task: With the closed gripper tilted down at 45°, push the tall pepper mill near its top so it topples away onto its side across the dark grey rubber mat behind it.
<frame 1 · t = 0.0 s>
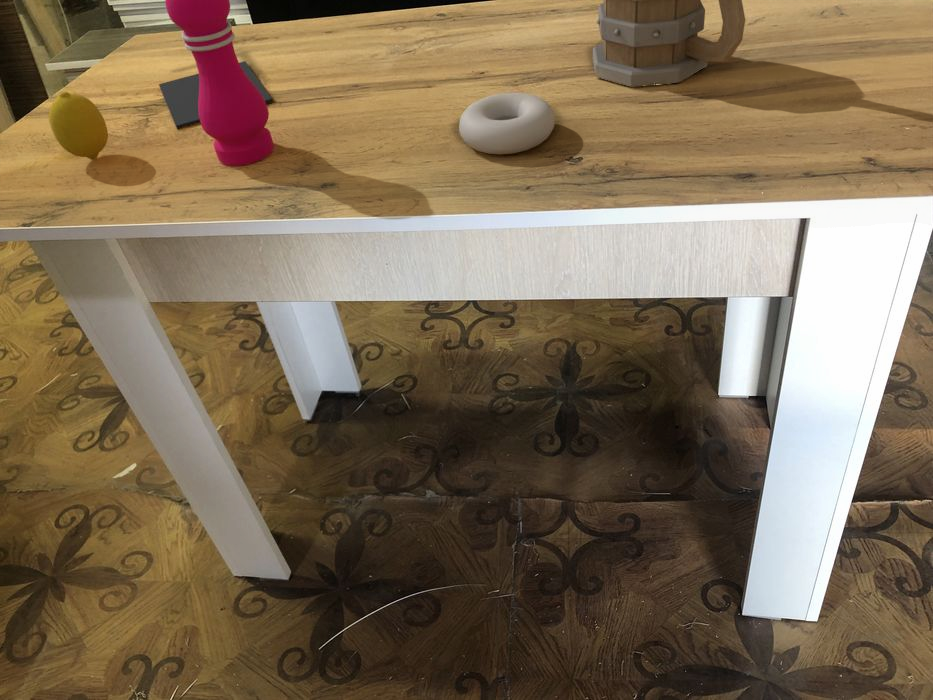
donut: (508, 139, 81), on the table
pepper mill: (247, 154, 86), on the table
mat: (214, 94, 100), on the table
tankard: (673, 73, 89), on the table
lemon: (95, 160, 90), on the table
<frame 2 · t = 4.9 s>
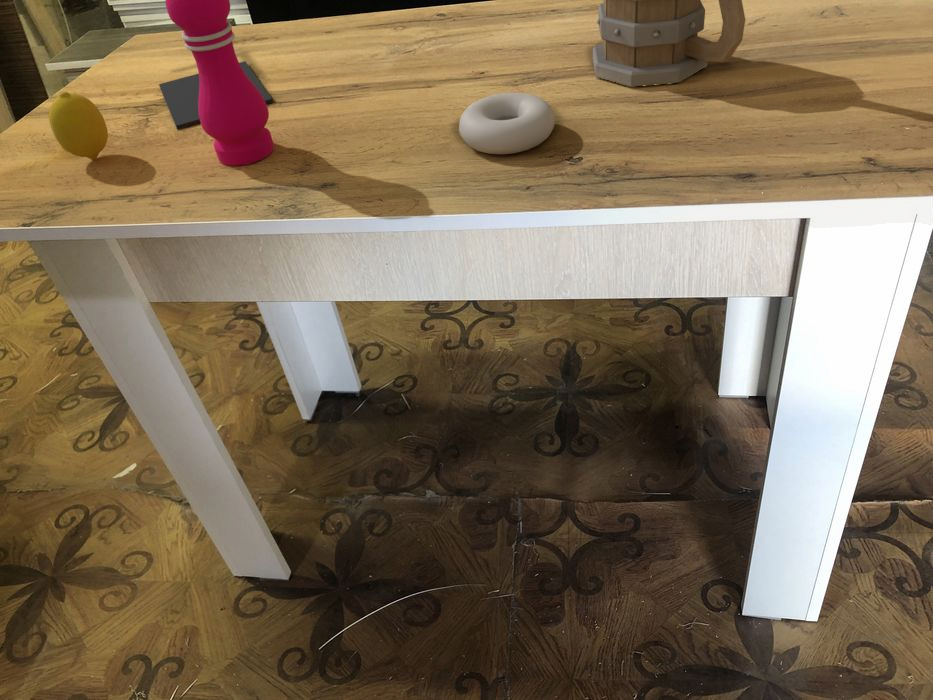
nothing on the table moved.
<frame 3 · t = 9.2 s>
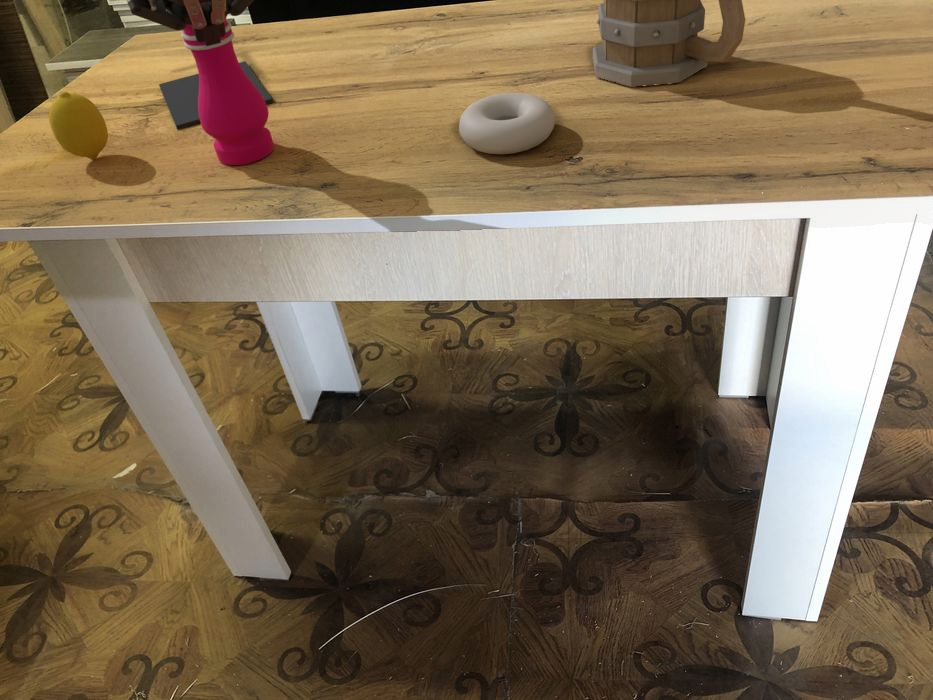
hand: (209, 36, 75), 14 cm above the table, tool tilted 45°, fingers closed
pepper mill: (247, 154, 86), on the table, touching gripper
everything else where it was.
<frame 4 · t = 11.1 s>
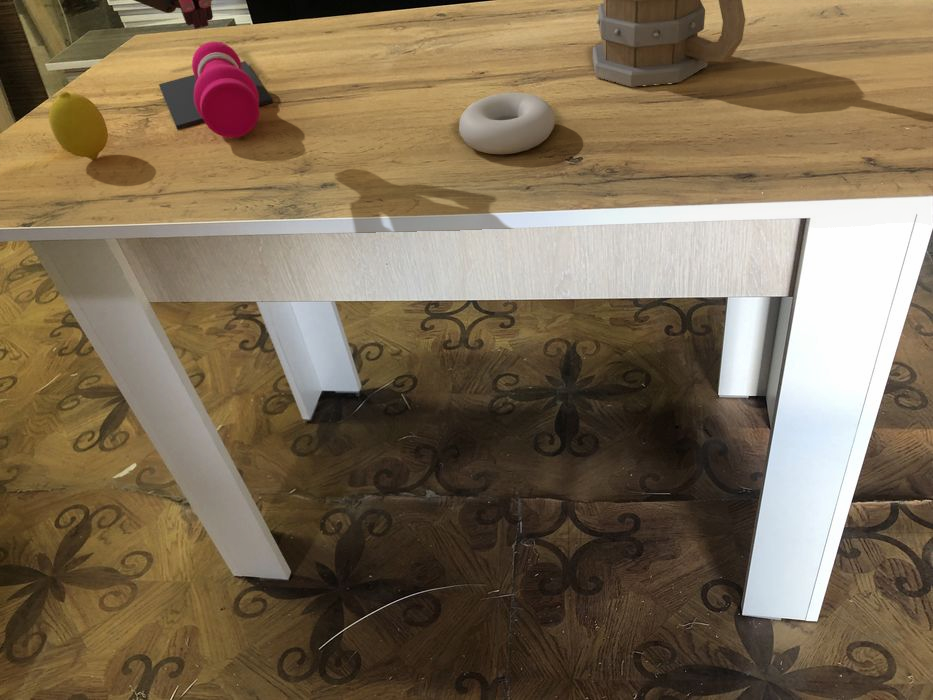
hand: (198, 19, 81), 13 cm above the table, tool tilted 45°, fingers closed
pepper mill: (230, 111, 86), point 4 cm above the table, touching mat
everything else where it was.
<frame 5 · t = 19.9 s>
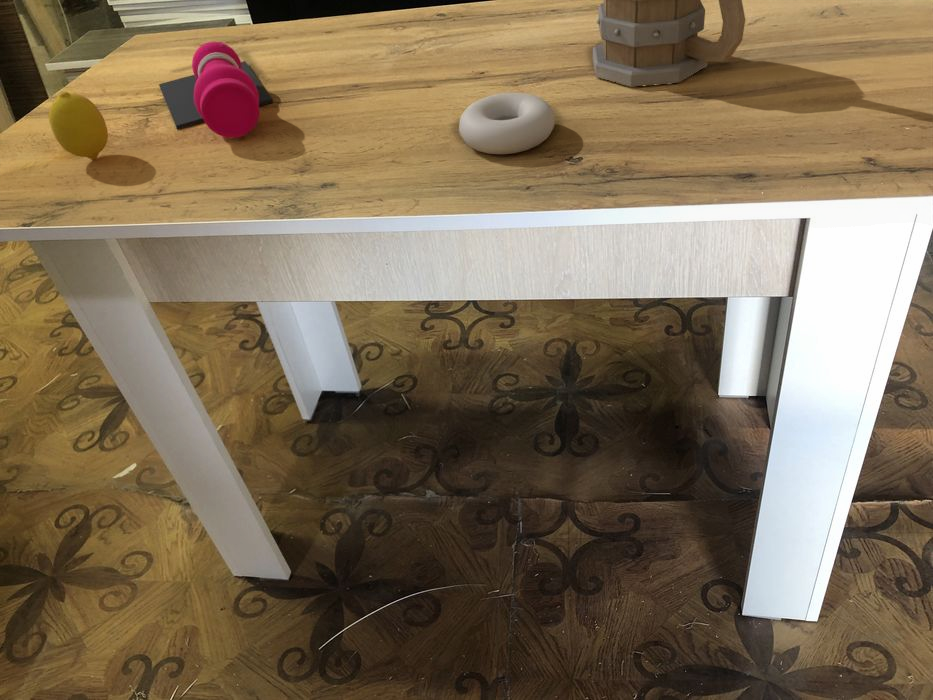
nothing on the table moved.
at the end: pepper mill tilted 91°; pepper mill touching mat, table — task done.
